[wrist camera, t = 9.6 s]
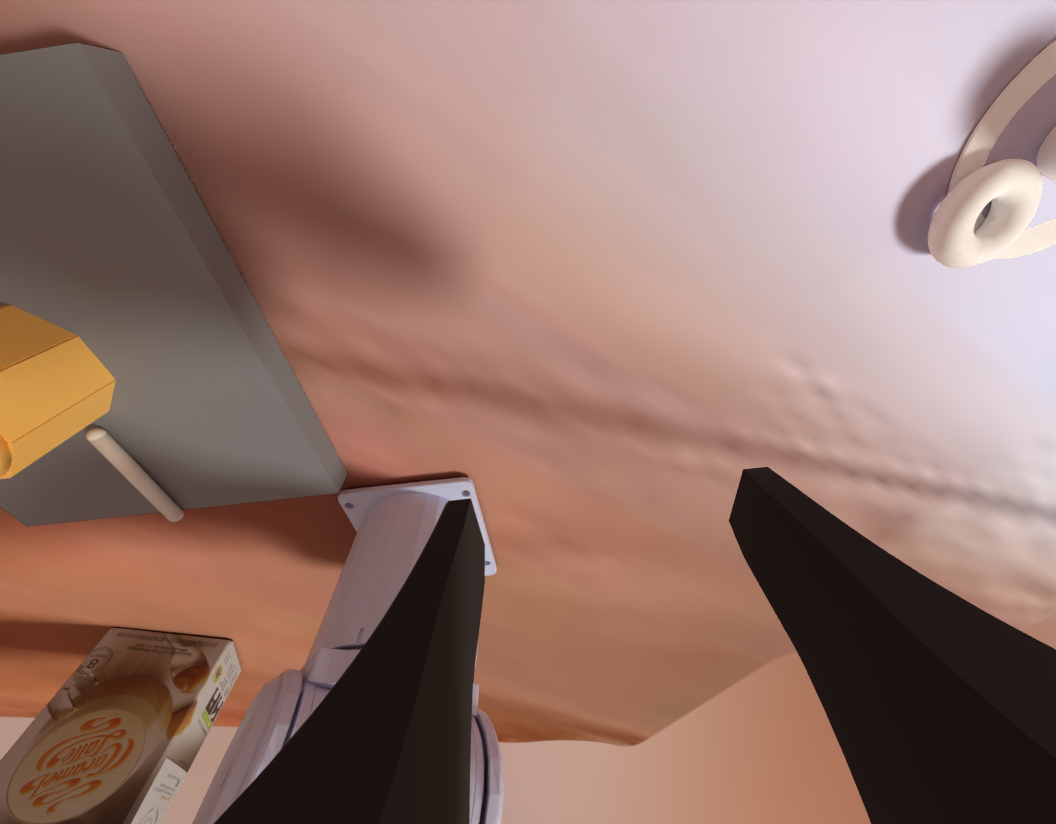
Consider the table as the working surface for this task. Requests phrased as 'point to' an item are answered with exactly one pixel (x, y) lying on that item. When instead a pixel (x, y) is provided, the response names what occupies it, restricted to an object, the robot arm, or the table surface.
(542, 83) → the table surface
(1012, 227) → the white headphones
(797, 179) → the table surface
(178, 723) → the coffee box
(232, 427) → the board
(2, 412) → the orange cap
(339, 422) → the table surface
